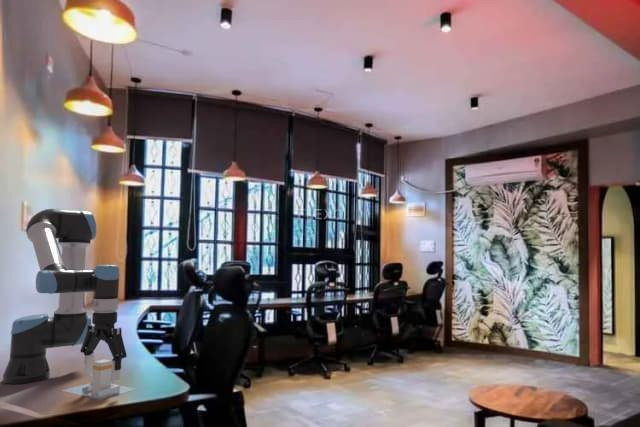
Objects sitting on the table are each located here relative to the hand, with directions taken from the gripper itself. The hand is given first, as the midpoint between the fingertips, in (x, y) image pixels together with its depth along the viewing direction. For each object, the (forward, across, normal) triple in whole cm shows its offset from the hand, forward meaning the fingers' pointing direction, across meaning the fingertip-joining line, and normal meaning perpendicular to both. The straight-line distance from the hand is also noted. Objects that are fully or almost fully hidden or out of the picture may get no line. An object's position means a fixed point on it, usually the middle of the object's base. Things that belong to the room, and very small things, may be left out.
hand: (101, 377), depth 154 cm
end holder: (+5, 0, 0) cm, 5 cm away
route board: (+7, -5, +3) cm, 9 cm away
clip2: (+5, -5, +6) cm, 9 cm away
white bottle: (+5, 0, 0) cm, 5 cm away
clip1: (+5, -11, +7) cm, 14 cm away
